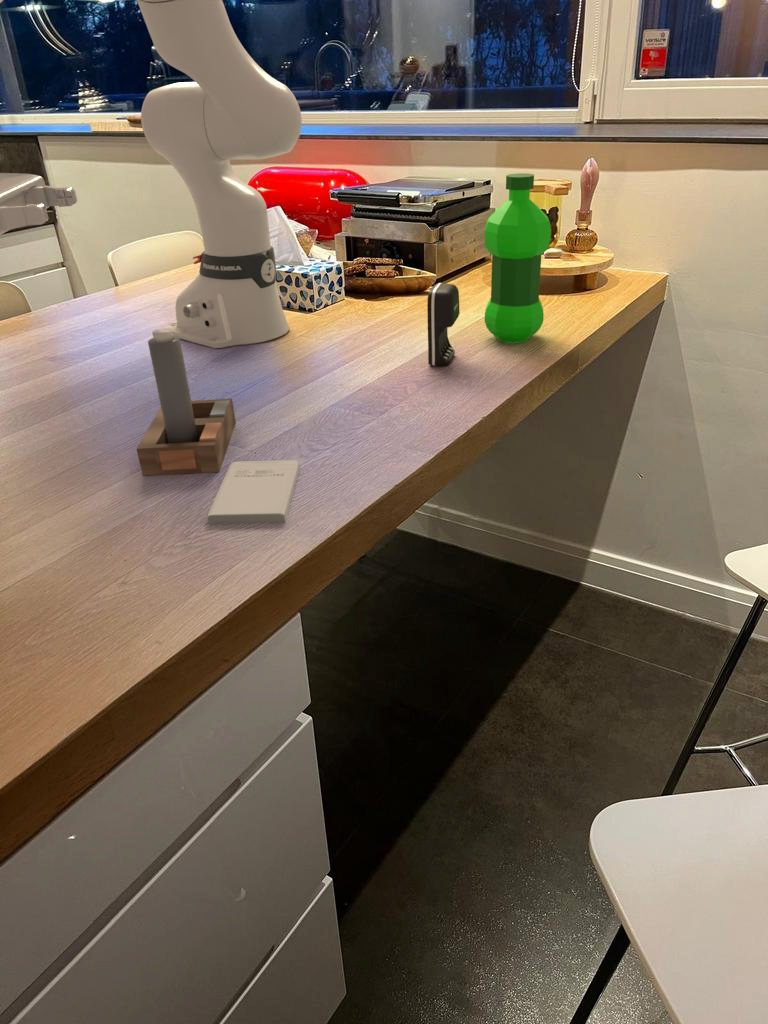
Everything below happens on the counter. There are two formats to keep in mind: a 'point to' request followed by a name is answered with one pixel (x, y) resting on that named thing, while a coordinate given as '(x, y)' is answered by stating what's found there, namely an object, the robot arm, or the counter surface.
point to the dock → (189, 457)
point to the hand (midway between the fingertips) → (60, 204)
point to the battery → (441, 322)
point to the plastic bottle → (516, 262)
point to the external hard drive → (255, 492)
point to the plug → (172, 386)
